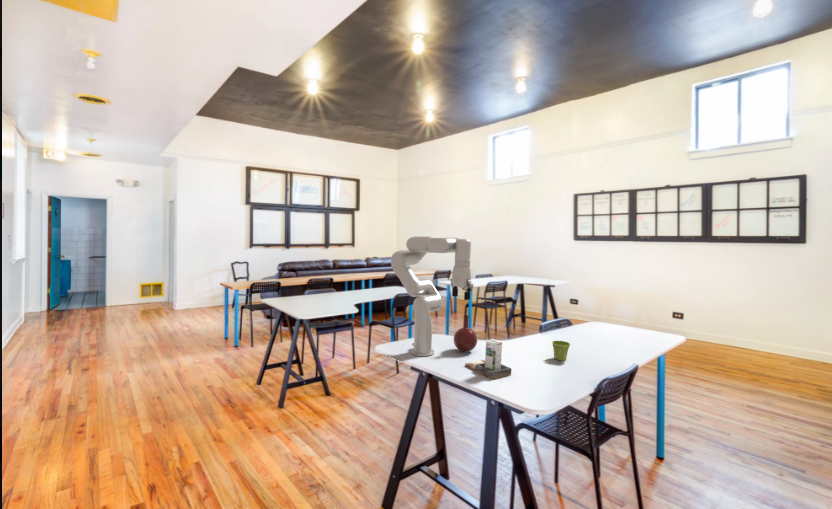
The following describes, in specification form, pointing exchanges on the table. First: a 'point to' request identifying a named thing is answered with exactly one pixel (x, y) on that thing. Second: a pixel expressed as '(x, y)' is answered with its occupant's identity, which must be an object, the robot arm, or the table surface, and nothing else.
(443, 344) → the table surface
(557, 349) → the plant pot
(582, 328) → the table surface
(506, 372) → the brown compartment tray
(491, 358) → the syrup box
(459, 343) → the round-bottom flask
